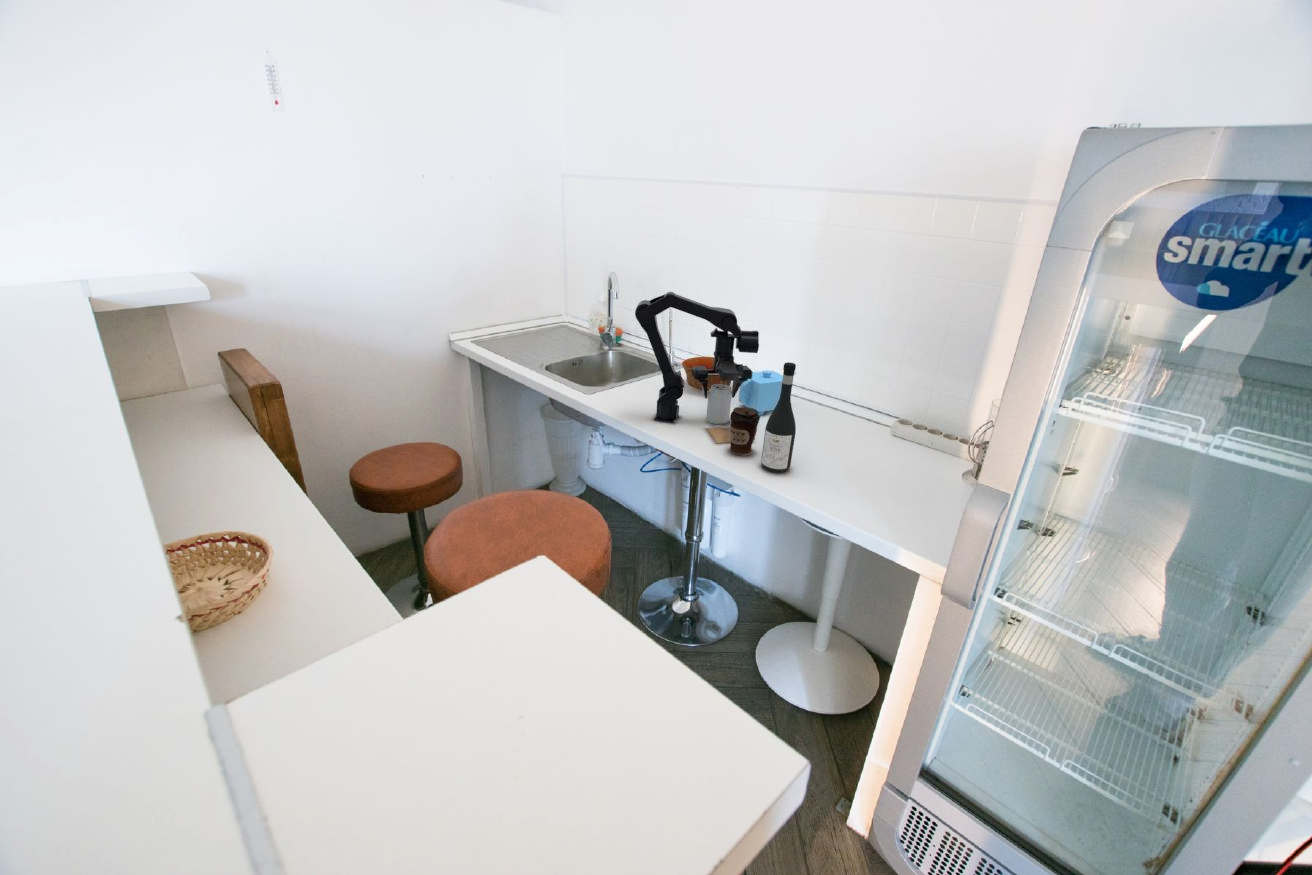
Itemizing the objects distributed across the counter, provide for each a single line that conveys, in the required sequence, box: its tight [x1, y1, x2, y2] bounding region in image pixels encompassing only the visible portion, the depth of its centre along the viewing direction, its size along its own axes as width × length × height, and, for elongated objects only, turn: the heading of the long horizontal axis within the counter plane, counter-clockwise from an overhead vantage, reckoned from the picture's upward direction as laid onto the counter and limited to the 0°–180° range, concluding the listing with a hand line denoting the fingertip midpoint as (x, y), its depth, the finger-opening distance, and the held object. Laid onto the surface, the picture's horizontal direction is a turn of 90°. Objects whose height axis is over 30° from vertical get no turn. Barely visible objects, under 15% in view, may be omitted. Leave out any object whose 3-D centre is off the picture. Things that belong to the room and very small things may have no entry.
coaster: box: [706, 427, 731, 444], centre depth 179 cm, size 11×11×1 cm
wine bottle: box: [760, 361, 797, 473], centre depth 154 cm, size 8×8×30 cm
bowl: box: [681, 356, 738, 392], centre depth 217 cm, size 21×21×10 cm
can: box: [705, 384, 732, 425], centre depth 187 cm, size 8×8×12 cm
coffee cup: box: [729, 406, 761, 456], centre depth 166 cm, size 9×8×13 cm
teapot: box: [737, 369, 797, 416], centre depth 200 cm, size 22×11×14 cm, turn 115°
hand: (719, 397), depth 186 cm, fingers open, 9 cm apart
